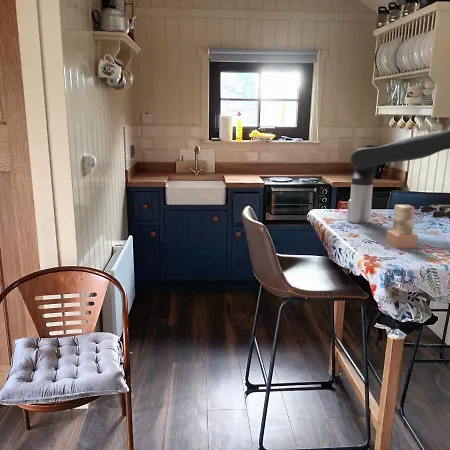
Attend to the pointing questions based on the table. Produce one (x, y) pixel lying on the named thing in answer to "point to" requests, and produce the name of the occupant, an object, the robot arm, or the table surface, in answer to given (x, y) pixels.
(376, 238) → the build mat
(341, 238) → the table surface
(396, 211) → the pillar
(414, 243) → the base block
